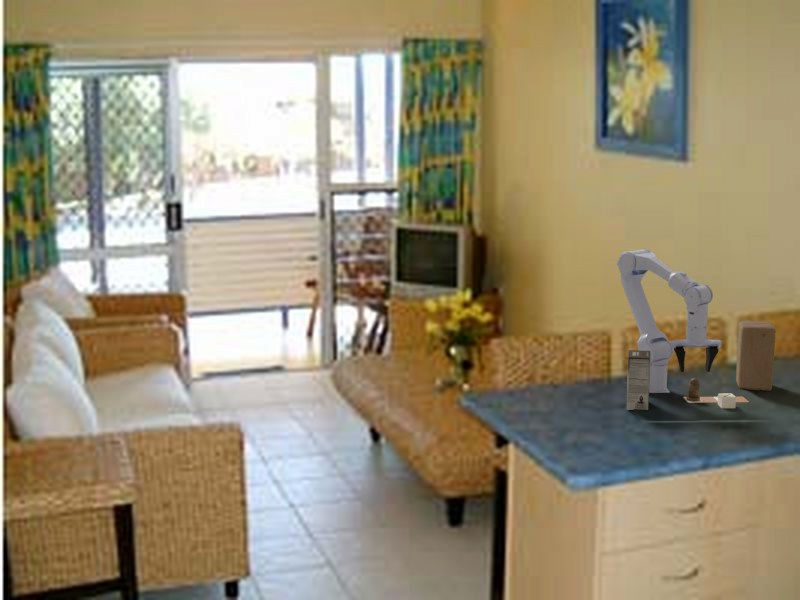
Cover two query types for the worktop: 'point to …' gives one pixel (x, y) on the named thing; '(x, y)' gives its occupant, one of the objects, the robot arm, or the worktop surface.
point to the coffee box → (638, 379)
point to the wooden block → (755, 355)
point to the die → (726, 400)
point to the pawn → (693, 390)
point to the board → (714, 400)
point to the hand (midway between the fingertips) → (694, 371)
